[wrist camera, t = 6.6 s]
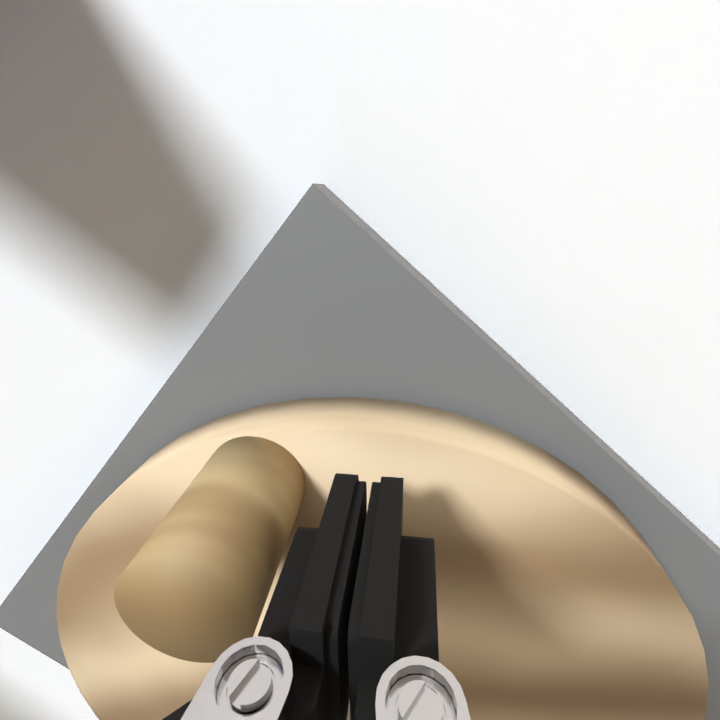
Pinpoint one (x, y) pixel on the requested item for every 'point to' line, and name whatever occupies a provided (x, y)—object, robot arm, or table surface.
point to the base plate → (366, 396)
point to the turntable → (420, 519)
